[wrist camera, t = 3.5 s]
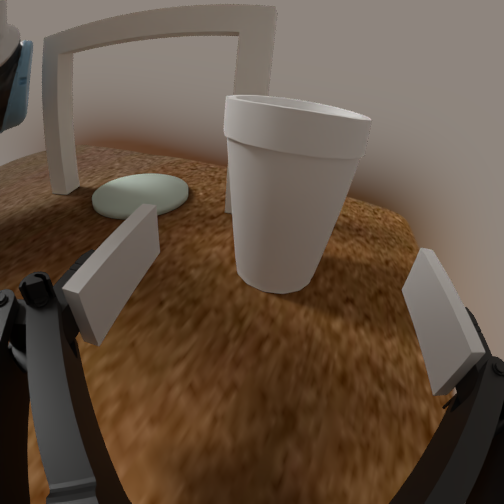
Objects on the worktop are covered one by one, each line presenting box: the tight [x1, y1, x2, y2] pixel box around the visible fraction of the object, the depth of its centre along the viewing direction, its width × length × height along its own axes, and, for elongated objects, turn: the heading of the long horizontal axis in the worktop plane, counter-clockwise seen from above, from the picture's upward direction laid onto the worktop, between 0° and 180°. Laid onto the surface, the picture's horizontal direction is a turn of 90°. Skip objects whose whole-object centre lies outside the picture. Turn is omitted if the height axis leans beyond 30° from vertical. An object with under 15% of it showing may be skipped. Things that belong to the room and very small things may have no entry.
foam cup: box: [224, 95, 372, 294], centre depth 21 cm, size 10×9×13 cm
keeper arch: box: [42, 4, 277, 219], centre depth 27 cm, size 28×12×22 cm, turn 82°
